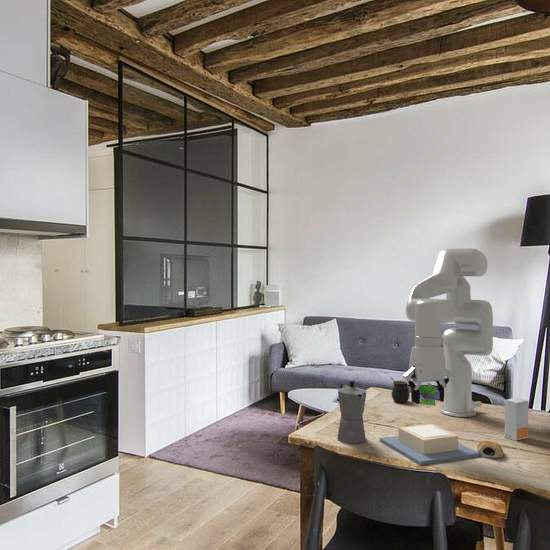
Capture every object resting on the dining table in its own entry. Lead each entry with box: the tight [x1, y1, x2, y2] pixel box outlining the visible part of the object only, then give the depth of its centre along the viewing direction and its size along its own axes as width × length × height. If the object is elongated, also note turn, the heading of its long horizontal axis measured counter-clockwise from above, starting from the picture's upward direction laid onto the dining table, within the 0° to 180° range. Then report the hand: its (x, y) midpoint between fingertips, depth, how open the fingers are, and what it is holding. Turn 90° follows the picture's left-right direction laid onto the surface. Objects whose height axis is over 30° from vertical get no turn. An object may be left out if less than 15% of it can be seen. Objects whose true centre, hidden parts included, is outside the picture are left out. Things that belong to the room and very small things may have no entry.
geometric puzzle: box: [418, 382, 441, 409], centre depth 142 cm, size 7×7×8 cm
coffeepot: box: [337, 380, 367, 444], centre depth 151 cm, size 15×9×18 cm, turn 16°
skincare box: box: [504, 397, 529, 442], centre depth 152 cm, size 6×4×12 cm
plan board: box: [379, 423, 481, 466], centre depth 142 cm, size 20×20×5 cm
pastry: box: [476, 440, 504, 459], centre depth 139 cm, size 9×7×4 cm
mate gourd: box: [390, 377, 411, 404], centre depth 196 cm, size 7×8×10 cm
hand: (427, 401), depth 142 cm, fingers closed on geometric puzzle, 7 cm apart
